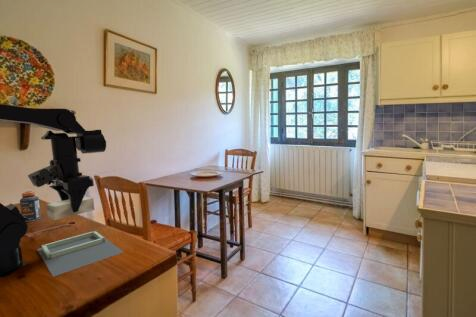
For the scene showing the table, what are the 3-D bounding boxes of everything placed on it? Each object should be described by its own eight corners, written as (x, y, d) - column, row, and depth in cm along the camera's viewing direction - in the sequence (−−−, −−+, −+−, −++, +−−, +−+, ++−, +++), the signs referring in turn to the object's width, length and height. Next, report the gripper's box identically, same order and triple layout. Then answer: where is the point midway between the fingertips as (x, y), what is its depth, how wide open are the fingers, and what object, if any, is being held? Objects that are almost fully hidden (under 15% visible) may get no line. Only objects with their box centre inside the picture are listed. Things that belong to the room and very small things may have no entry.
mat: (124, 253, 72) (124, 252, 72) (53, 278, 61) (53, 276, 61) (97, 233, 88) (97, 232, 88) (37, 250, 77) (36, 249, 77)
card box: (54, 219, 70) (53, 206, 70) (47, 216, 74) (46, 204, 73) (94, 210, 78) (93, 198, 78) (86, 207, 82) (85, 196, 81)
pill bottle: (18, 222, 104) (14, 194, 102) (28, 217, 110) (25, 190, 108) (35, 221, 104) (31, 193, 103) (44, 216, 110) (41, 189, 109)
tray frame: (105, 241, 80) (105, 238, 80) (48, 259, 70) (47, 255, 70) (95, 234, 86) (95, 230, 86) (41, 249, 76) (41, 245, 76)
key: (26, 240, 87) (78, 227, 97) (25, 238, 87) (78, 225, 97) (24, 234, 91) (75, 222, 101) (24, 232, 91) (75, 220, 101)
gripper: (19, 157, 74) (26, 212, 76) (41, 159, 62) (49, 225, 64) (65, 153, 82) (70, 203, 84) (91, 155, 71) (97, 212, 72)
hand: (71, 210), depth 76 cm, fingers closed on card box, 5 cm apart
